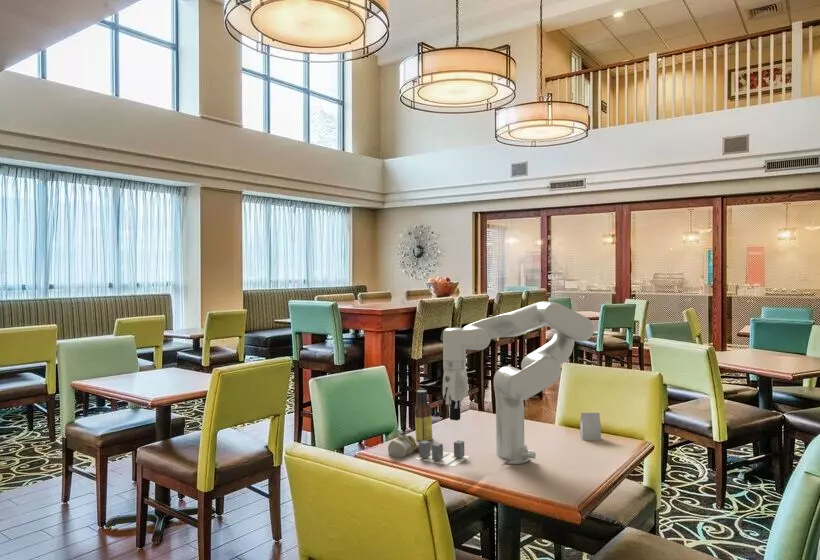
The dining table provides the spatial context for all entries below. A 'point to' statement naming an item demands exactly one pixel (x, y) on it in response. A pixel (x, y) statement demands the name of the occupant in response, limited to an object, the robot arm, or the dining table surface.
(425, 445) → the slider
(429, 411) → the sauce bottle
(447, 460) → the switch panel
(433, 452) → the slider
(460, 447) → the slider
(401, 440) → the ceramic sculpture
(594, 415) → the grey upright block
